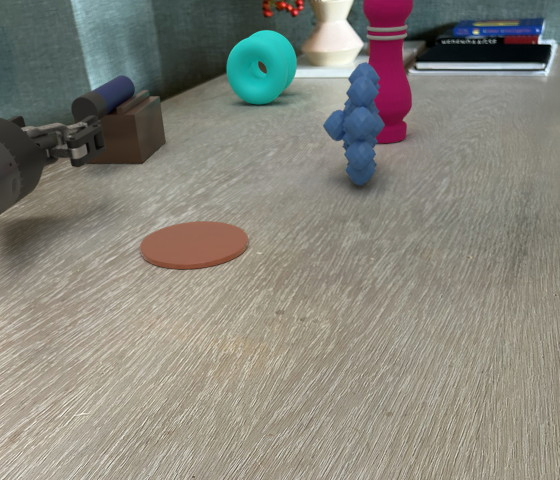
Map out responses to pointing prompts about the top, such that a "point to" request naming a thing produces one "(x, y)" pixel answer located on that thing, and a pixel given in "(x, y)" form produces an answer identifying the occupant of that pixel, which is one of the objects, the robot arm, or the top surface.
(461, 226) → the top surface
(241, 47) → the donuts
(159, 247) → the coaster
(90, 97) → the marker
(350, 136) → the grapes
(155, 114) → the block
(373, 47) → the pepper mill
